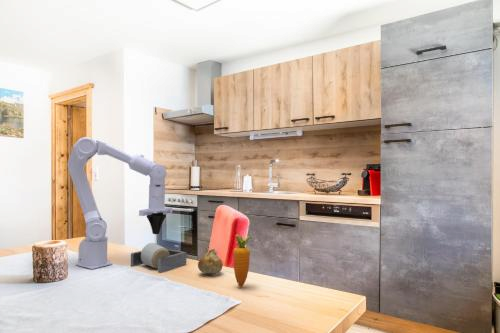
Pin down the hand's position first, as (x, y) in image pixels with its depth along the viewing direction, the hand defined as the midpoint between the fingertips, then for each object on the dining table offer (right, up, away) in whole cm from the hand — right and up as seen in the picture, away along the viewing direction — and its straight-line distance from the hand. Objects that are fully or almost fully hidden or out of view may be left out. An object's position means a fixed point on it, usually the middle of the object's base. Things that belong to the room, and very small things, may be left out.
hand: (155, 233), depth 123 cm
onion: (+22, -10, -16) cm, 29 cm away
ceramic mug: (+3, -10, -7) cm, 13 cm away
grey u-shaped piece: (+3, -10, -7) cm, 12 cm away
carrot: (+32, -10, -28) cm, 44 cm away
